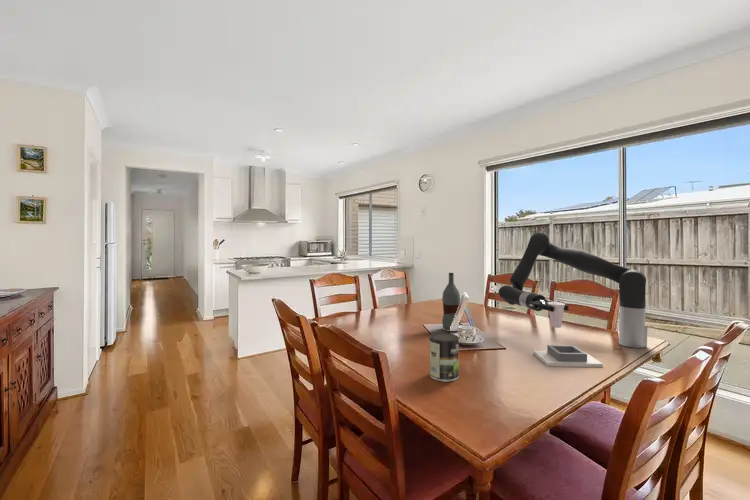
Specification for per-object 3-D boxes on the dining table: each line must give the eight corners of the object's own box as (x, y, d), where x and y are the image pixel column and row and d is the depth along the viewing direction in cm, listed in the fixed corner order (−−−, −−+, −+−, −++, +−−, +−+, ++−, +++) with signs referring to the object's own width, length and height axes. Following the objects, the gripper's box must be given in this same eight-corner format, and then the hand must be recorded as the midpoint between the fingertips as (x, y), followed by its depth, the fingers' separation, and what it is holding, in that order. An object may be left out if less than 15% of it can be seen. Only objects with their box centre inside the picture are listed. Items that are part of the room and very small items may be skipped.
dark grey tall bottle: (459, 333, 177) (459, 274, 176) (441, 331, 180) (441, 273, 179) (461, 328, 186) (461, 272, 185) (443, 327, 189) (443, 271, 188)
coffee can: (462, 373, 126) (462, 335, 125) (453, 384, 117) (453, 342, 117) (435, 368, 131) (435, 331, 131) (424, 378, 123) (424, 338, 122)
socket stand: (583, 354, 145) (583, 344, 145) (602, 367, 131) (603, 355, 131) (533, 353, 146) (533, 343, 146) (547, 366, 132) (547, 355, 132)
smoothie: (563, 325, 147) (563, 291, 146) (566, 329, 141) (566, 294, 140) (546, 324, 149) (546, 291, 148) (548, 328, 143) (548, 293, 142)
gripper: (518, 293, 156) (546, 300, 140) (545, 291, 160) (575, 298, 144) (518, 310, 156) (545, 319, 140) (545, 308, 160) (575, 316, 144)
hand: (560, 308), depth 142 cm, fingers closed on smoothie, 6 cm apart
